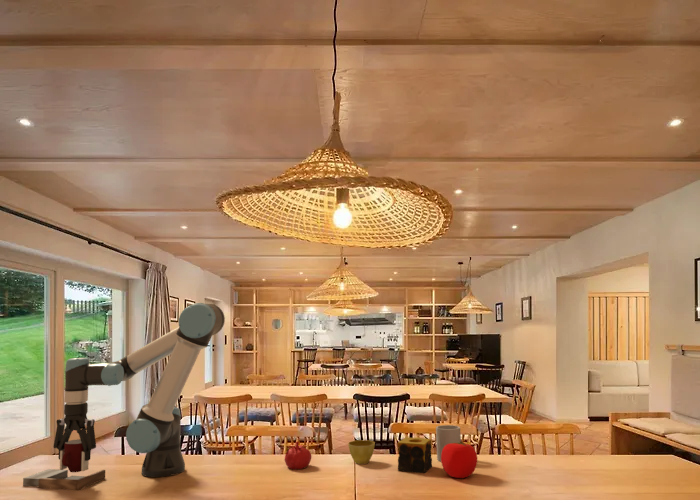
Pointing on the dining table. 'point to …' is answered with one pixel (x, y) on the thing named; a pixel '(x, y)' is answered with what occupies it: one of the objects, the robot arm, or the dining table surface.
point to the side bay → (62, 479)
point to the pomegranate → (297, 457)
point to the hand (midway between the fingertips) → (74, 469)
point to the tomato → (459, 459)
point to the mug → (73, 455)
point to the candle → (414, 455)
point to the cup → (446, 437)
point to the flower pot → (361, 450)
